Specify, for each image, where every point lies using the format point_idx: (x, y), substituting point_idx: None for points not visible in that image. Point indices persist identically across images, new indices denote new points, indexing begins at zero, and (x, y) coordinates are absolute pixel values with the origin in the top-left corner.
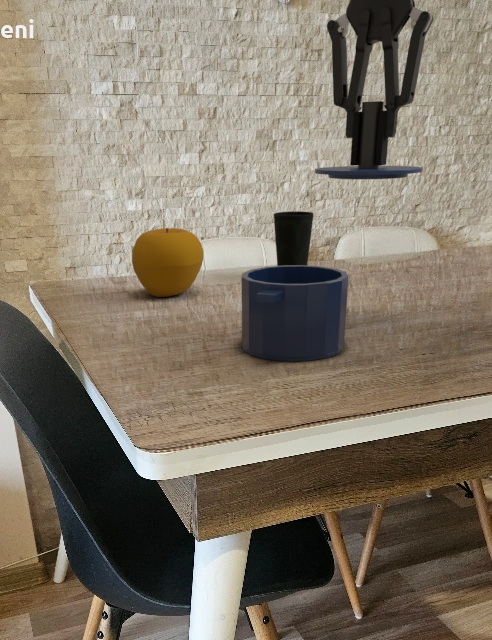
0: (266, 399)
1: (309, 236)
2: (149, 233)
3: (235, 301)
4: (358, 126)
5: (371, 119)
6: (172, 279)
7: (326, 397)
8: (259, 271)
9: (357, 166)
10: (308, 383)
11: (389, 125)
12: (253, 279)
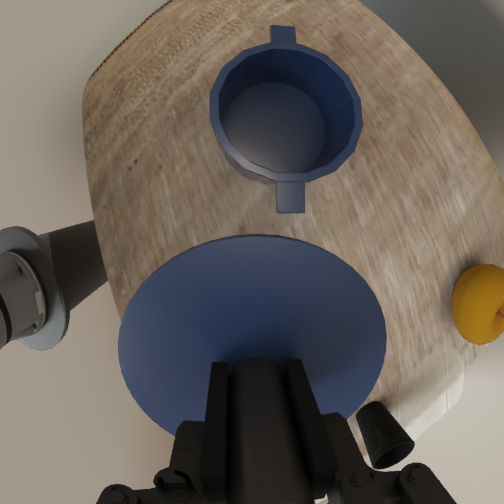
0: (233, 3)
1: (367, 445)
2: None
3: (403, 295)
4: (305, 434)
5: (255, 453)
6: (467, 273)
7: (190, 21)
8: (351, 130)
9: None
10: (214, 38)
11: (189, 446)
12: (350, 118)
